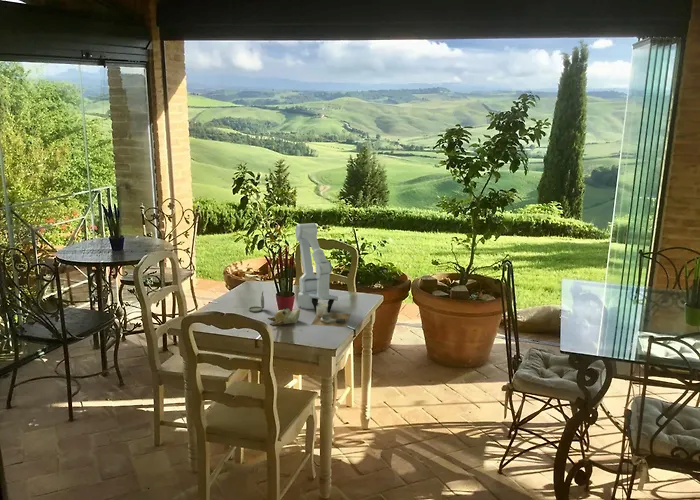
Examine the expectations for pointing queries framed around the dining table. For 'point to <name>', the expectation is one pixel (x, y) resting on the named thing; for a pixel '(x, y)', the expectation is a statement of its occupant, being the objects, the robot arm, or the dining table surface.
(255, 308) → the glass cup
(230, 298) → the dining table surface
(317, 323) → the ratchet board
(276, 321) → the ceramic sculpture
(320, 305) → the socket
